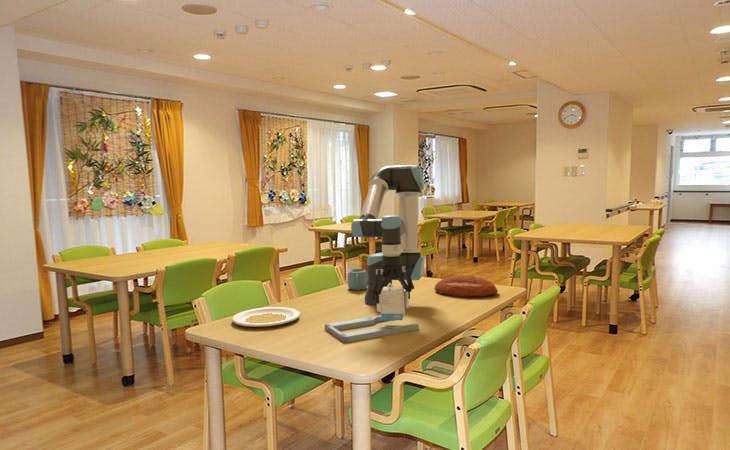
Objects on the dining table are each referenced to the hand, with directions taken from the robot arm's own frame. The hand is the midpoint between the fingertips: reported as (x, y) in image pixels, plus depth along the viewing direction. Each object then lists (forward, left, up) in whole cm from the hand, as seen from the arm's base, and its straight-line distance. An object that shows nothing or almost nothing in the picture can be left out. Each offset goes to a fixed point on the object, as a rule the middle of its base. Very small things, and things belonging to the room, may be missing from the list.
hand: (392, 309), depth 200 cm
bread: (-31, +59, -7) cm, 67 cm away
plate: (-35, -42, -7) cm, 55 cm away
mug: (-68, +16, -7) cm, 70 cm away
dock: (0, -9, -7) cm, 11 cm away
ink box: (0, 0, -3) cm, 3 cm away
